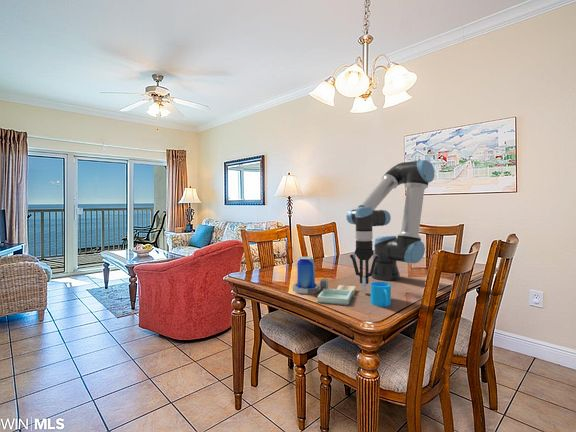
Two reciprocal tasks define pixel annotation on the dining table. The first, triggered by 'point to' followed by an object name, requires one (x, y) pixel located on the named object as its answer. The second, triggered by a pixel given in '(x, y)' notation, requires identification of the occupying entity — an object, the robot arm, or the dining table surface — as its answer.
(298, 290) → the collar
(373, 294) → the mug
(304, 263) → the blue bottle
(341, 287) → the plate
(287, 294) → the dining table surface
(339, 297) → the tray
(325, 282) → the dog
